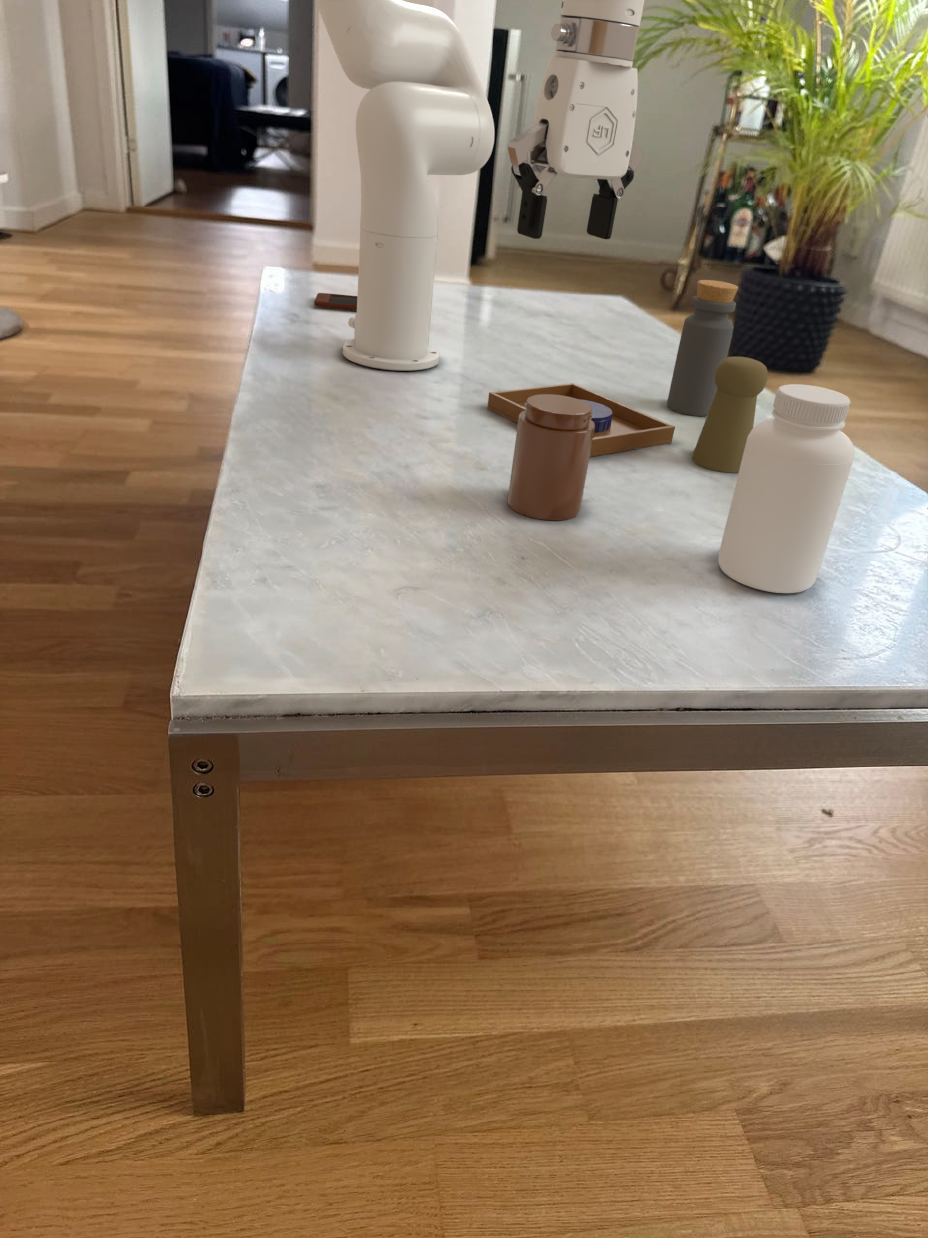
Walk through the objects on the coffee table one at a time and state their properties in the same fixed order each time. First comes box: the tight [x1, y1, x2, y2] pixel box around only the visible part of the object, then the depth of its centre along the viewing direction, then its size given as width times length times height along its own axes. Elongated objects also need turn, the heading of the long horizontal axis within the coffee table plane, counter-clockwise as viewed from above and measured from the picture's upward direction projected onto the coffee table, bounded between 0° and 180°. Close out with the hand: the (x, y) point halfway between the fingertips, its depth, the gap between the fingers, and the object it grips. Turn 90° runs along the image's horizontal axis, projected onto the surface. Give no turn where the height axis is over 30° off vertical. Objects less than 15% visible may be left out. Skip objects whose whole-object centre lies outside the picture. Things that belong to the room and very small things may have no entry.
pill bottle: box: [717, 383, 855, 594], centre depth 74 cm, size 8×8×15 cm
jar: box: [507, 394, 595, 521], centre depth 83 cm, size 7×7×9 cm
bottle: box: [666, 279, 739, 417], centre depth 114 cm, size 6×6×15 cm
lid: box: [579, 399, 612, 433], centre depth 106 cm, size 7×7×2 cm
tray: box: [486, 382, 676, 458], centre depth 106 cm, size 17×13×2 cm
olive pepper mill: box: [691, 356, 769, 474], centre depth 98 cm, size 6×6×11 cm
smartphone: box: [313, 292, 357, 312], centre depth 148 cm, size 7×1×15 cm
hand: (564, 236), depth 98 cm, fingers open, 9 cm apart
